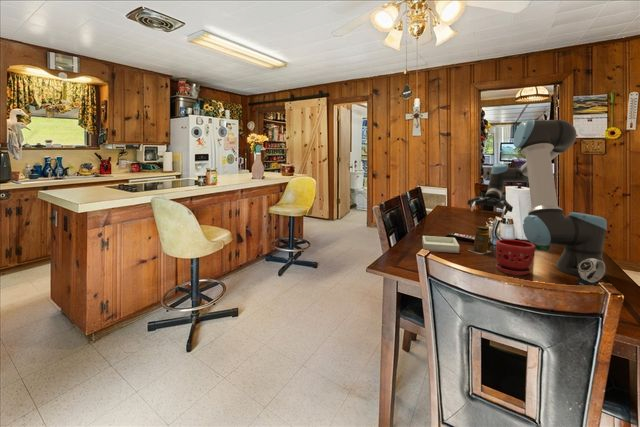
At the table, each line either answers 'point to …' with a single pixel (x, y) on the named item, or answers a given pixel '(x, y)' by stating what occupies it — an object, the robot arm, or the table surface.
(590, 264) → the watch
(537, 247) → the canned tomato
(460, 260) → the table surface
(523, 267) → the plant pot
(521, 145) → the robot arm
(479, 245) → the condiment
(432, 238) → the pale green square tray
